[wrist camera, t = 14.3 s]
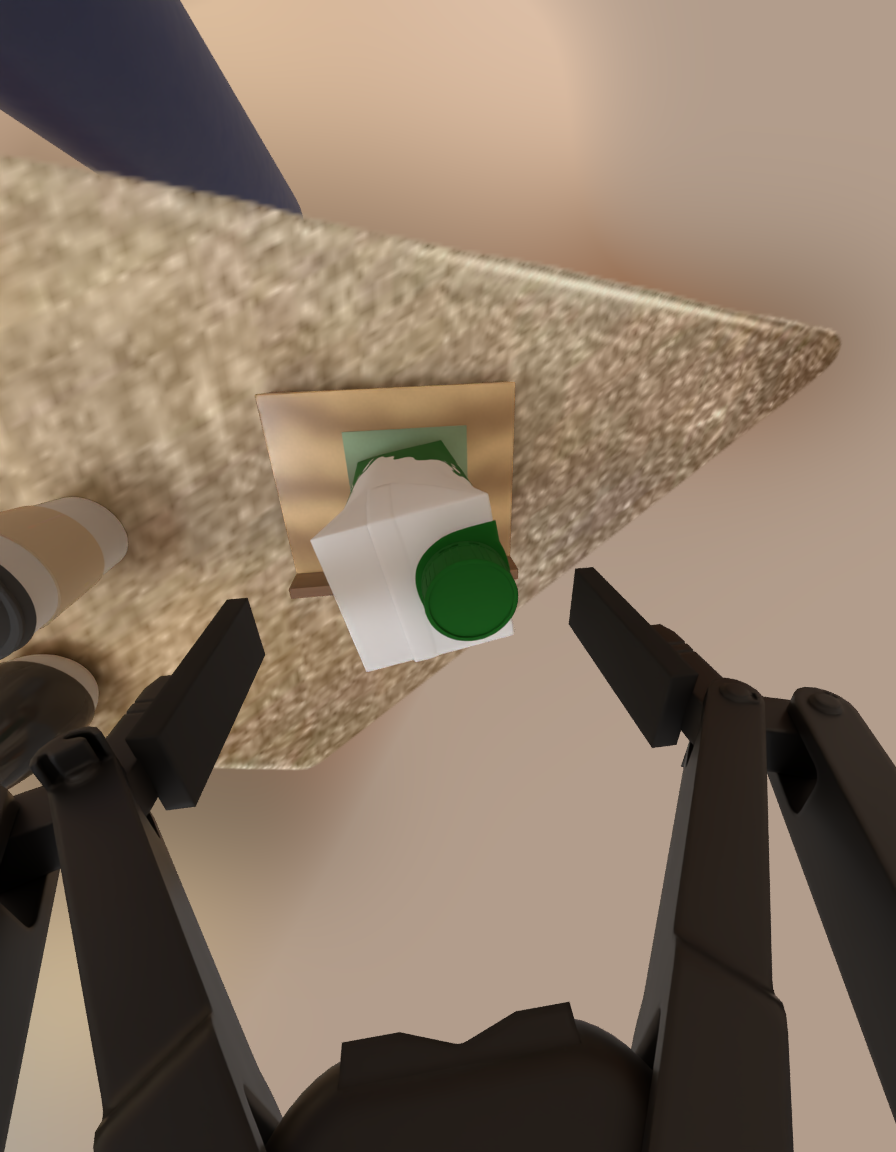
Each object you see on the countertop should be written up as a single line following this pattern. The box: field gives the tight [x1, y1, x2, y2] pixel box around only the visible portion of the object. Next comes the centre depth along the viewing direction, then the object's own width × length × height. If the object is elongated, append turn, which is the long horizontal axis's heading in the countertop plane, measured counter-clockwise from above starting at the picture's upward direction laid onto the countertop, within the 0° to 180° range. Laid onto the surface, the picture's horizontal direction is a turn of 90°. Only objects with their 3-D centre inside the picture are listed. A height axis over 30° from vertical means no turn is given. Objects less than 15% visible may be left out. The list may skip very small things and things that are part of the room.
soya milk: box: [310, 440, 518, 672], centre depth 26 cm, size 9×9×20 cm
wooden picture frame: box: [255, 381, 518, 599], centre depth 35 cm, size 16×20×7 cm
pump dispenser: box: [0, 654, 99, 790], centre depth 37 cm, size 10×10×15 cm
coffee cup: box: [0, 497, 128, 660], centre depth 31 cm, size 9×9×15 cm
